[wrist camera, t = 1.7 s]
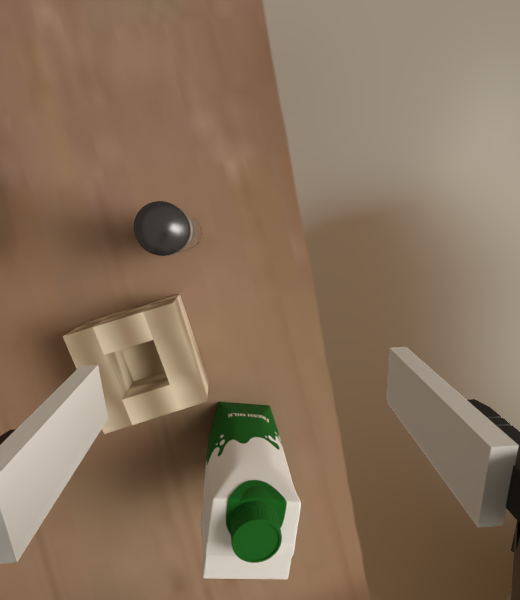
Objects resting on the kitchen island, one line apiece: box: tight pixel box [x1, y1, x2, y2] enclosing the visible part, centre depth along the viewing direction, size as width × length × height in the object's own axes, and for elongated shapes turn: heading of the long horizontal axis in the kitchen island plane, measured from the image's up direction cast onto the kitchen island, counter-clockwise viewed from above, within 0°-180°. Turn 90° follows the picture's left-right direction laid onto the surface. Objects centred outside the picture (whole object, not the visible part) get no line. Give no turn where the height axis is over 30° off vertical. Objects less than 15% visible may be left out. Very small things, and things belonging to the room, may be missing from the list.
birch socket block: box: [63, 294, 209, 434], centre depth 41 cm, size 12×12×6 cm
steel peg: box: [134, 201, 202, 256], centre depth 34 cm, size 4×4×16 cm
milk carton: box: [201, 402, 301, 579], centre depth 37 cm, size 9×9×20 cm
